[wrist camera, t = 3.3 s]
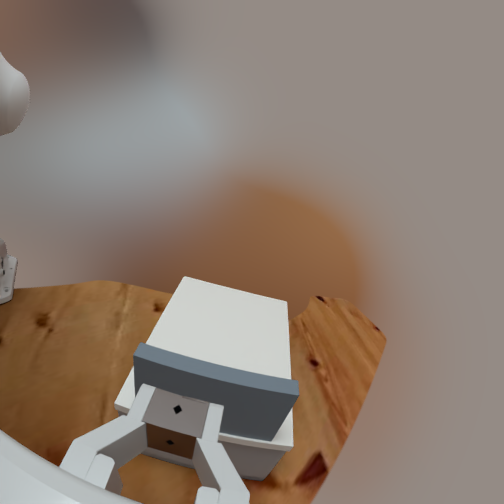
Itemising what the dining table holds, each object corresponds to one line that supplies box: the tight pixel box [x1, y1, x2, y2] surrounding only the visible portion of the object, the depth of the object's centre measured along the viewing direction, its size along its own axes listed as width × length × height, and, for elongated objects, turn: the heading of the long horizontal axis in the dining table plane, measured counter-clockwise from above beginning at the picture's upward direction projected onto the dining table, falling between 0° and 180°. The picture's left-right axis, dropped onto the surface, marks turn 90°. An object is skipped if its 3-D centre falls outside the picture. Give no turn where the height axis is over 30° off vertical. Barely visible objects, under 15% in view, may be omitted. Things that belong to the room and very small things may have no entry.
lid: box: [114, 276, 299, 451], centre depth 32 cm, size 25×16×8 cm, turn 176°
